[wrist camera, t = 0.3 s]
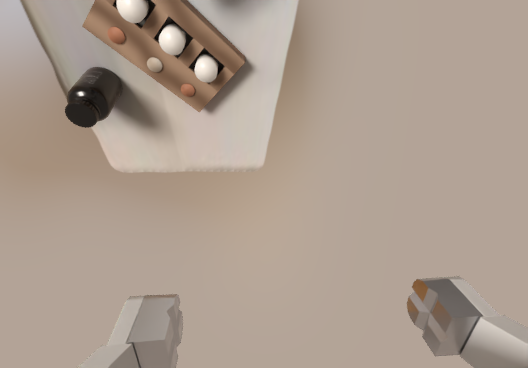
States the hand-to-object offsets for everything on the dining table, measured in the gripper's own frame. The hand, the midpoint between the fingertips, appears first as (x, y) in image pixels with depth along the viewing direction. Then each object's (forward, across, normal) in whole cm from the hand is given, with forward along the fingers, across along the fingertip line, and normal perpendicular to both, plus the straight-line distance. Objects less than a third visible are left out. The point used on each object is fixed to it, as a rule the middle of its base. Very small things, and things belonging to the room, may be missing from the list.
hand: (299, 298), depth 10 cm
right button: (+50, +7, -5) cm, 51 cm away
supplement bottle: (+54, +28, -1) cm, 61 cm away
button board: (+51, +14, -9) cm, 53 cm away
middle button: (+49, +13, -9) cm, 51 cm away
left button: (+47, +18, -14) cm, 52 cm away
